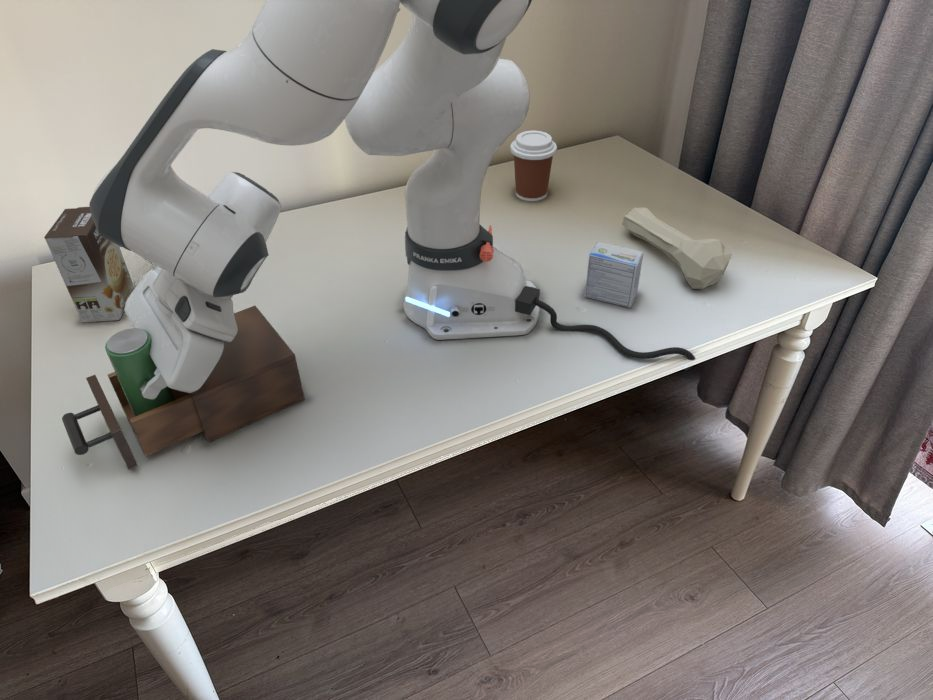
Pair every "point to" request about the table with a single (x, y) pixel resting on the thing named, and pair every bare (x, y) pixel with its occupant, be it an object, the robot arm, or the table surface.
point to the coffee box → (89, 266)
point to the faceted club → (681, 248)
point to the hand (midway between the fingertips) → (137, 379)
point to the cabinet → (248, 378)
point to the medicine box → (613, 274)
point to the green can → (135, 368)
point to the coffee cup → (532, 164)
